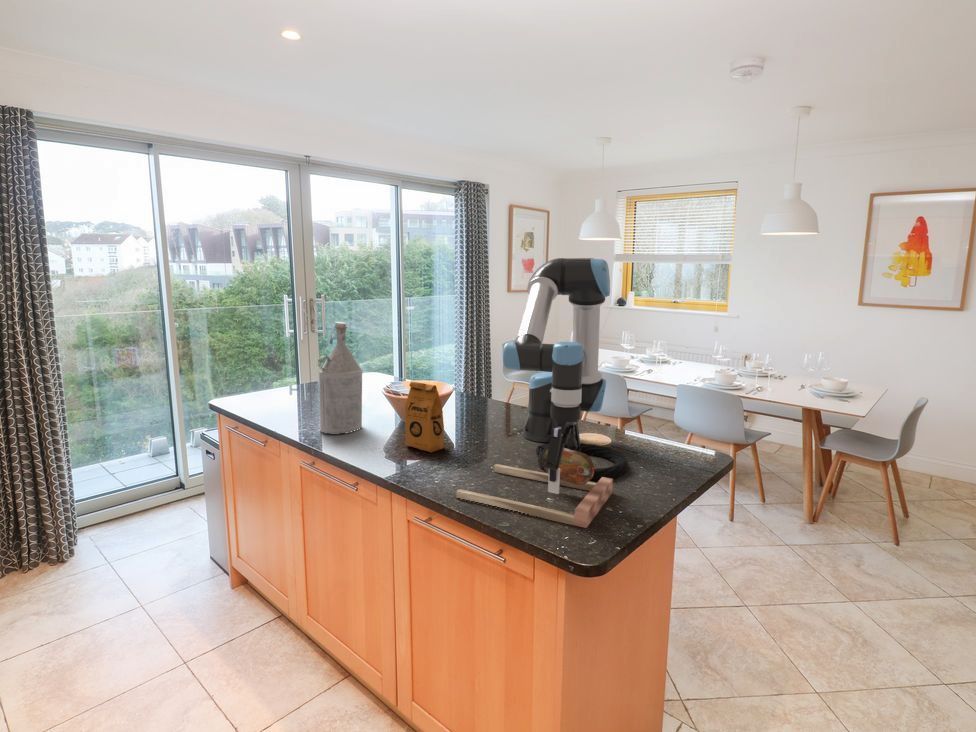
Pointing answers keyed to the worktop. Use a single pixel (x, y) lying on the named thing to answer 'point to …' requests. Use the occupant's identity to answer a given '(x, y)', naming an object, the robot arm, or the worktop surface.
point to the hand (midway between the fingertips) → (562, 483)
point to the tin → (573, 467)
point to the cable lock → (597, 450)
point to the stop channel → (580, 518)
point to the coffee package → (424, 418)
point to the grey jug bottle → (340, 388)
